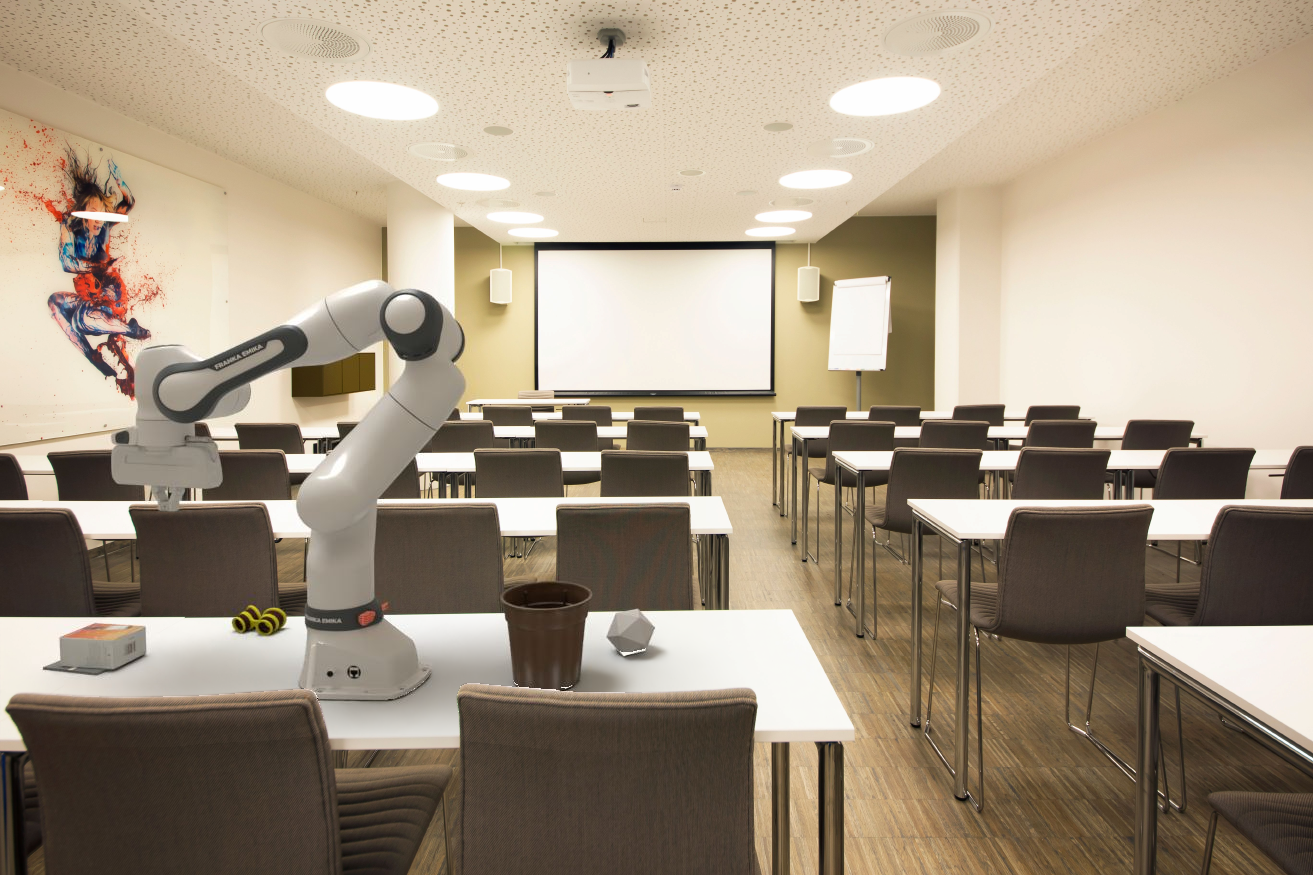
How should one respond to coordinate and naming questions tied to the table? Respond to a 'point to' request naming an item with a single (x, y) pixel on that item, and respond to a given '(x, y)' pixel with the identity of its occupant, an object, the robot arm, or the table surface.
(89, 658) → the small box
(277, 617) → the opera glasses
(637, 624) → the die
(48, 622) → the table surface
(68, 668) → the mat
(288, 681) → the table surface
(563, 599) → the plant pot
